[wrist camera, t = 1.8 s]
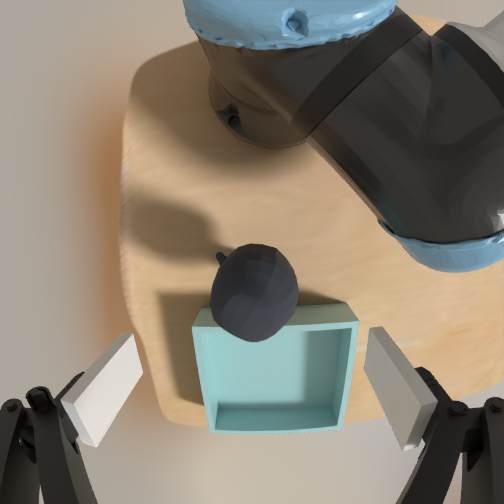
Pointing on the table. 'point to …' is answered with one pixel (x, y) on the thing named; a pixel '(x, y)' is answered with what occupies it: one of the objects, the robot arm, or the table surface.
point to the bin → (278, 373)
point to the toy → (253, 292)
